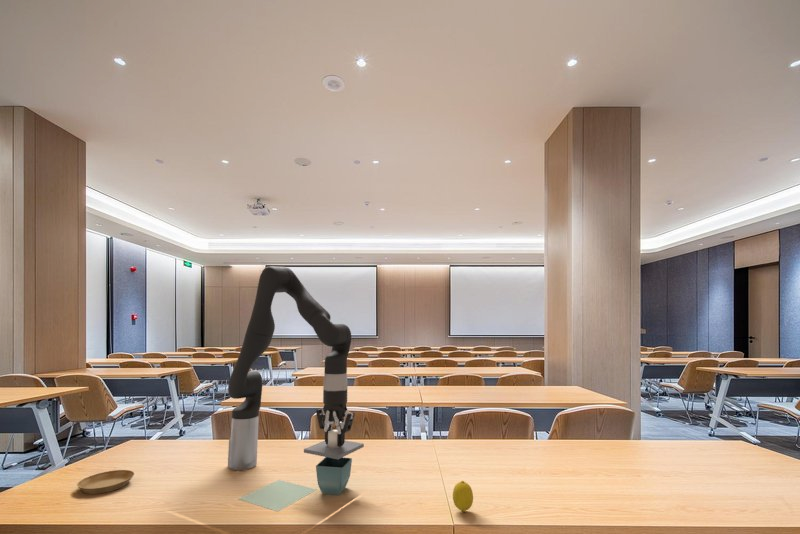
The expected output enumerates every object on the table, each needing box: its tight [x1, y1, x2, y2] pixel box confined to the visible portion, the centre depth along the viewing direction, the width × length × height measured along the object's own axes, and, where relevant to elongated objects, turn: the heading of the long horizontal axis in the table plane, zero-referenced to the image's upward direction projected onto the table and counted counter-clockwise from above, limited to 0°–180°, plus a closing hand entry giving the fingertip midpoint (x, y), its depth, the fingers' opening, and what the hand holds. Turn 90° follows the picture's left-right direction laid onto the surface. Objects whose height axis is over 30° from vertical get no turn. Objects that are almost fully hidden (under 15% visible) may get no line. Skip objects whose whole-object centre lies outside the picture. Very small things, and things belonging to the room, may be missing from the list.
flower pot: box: [315, 456, 353, 496], centre depth 122 cm, size 9×9×9 cm
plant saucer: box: [76, 469, 135, 495], centre depth 127 cm, size 15×15×3 cm
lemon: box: [452, 480, 474, 513], centre depth 109 cm, size 6×6×8 cm
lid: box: [303, 429, 365, 459], centre depth 123 cm, size 13×13×5 cm
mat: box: [238, 479, 318, 512], centre depth 119 cm, size 16×16×1 cm
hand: (334, 444), depth 123 cm, fingers closed on lid, 4 cm apart
